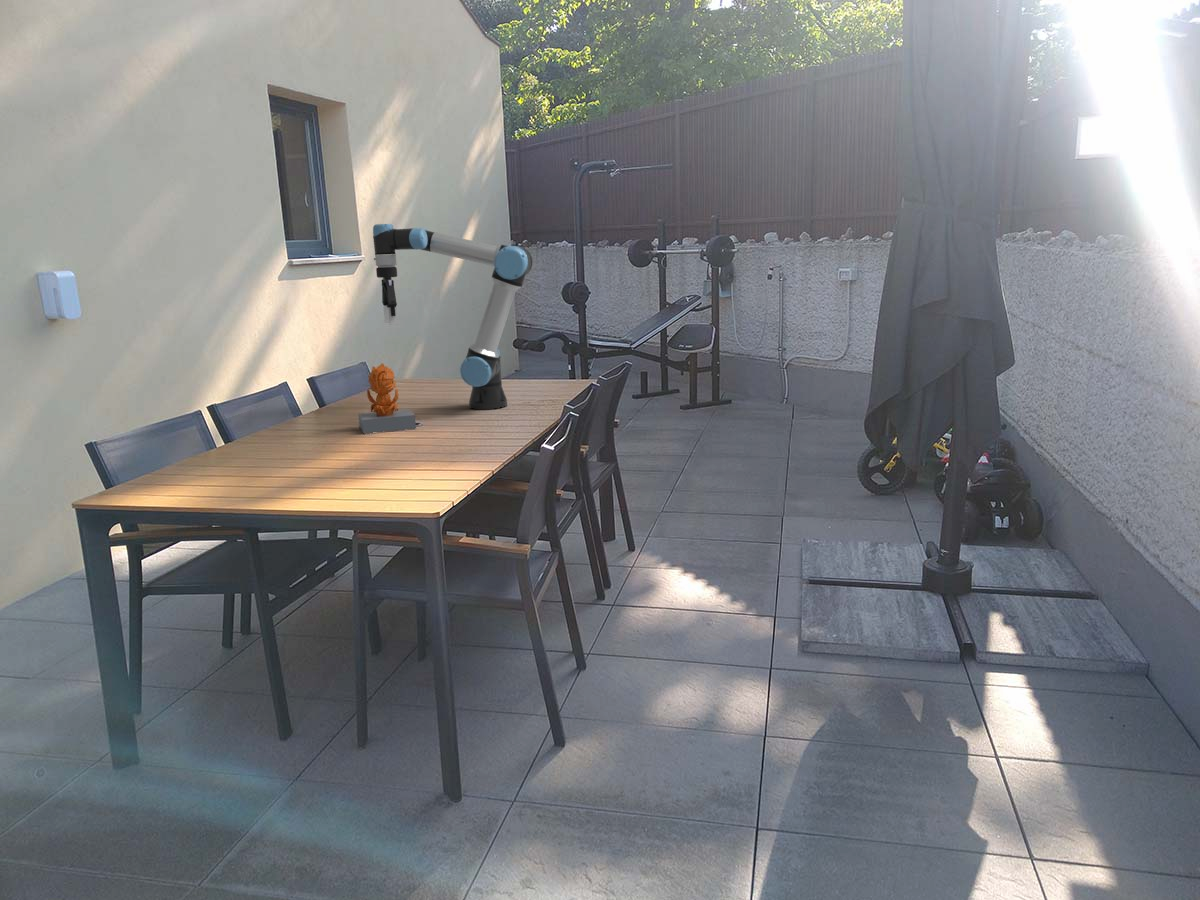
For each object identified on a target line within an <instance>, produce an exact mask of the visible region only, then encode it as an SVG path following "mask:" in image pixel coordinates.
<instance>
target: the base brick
mask: <svg viewBox="0 0 1200 900" xmlns="http://www.w3.org/2000/svg"><path fill="white" fill-rule="evenodd" d="M357 417H358V427H360V428H361V429H360V428H359V429H360V431H361V430H362V431H361V432H362V433H364V434H363V435H366V434H365V433H371V434H374V433H373V432H381V433H384V432H383V431H391V432H396V431H395V430H401V431H406V430H405V429H411V430H416V429H417V427H416V426H417V424H416V415H415V413H414V412H412V410H410V409H409V408H405V409H398V411H395V409H394V413H393V415H389V416H377V415H376V412H375V413H374V412H371V411H370V412H363V413H362V412H361V413H357ZM415 428H416V429H415Z"/></svg>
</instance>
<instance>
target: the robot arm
mask: <svg viewBox="0 0 1200 900" xmlns="http://www.w3.org/2000/svg"><path fill="white" fill-rule="evenodd" d="M372 239H373V240H372V241H373V247H374V248H373V249H374V255H375V257H374V258H373V261H375V266H376V269H375V271H376V272H375V273H376V278H378V279H379V278H382V279H381V295H382V297H381V299H382V300H381V303H382V305H383V316H384V323H385V324H389V326H398V313H397V306H398V303H397V299H396V292H395V281H394V280H393V279H392V278H396V277H398V268H397V267H396V266H397V265H398V264H397V254H396V251H397V250H398V251H401V250H421V251H426V252H431V253H435V254H439V255H443V256H448V257H451V258H457V259H462V260H465V261H469V262H473V263H479V264H482V265H483V264H484V265H487V266H491V267H494V268H493V271H492V275H491V280H492V281H493V284H492V285H493V286H492V288H491V292H490V294H489V297H488V300H487V304H486V307H485V310H484V313H483V317H482V320H481V323H480V326H479V329H478V332H477V335H476V339H475V342H474V344H470V345H469V348H468V351H467V353H466V356H465V359H464V360H463V361H462V363H461V365H460V368H459V371H460V372H459V373H460V376H461V378H462V380H463V382H464V383H466V384H467V385H468V386H471V387H472V389H471V392H470V395H469V399H468V400H469V401H468V407H470V408H469V409H471V408H474V409H473V410H495V409H494V408H497V409H501V408H500V407H502V408H505V407H504V406H506V405H507V406H508V400H507V396H506V394H505V391H504V389H503V386H502V385H503V384H502V383H503V381H502V366H501V365H502V364H501V363H502V362H501V357H502V356H501V352H500V350H499V349H498V347H499V344H500V341H501V338H502V336H503V331H504V329H505V326H506V323H507V319H508V316H509V314H510V310H511V307H512V305H513V301H514V298H515V294H516V293H517V291H518V290H519V289H521V288H522V287H523V283H524V280H525V278H526V276H527V274H529V273H530V271H531V270H532V267H533V262H534V261H533V257H532V255H531V253H530V252H529V250H528V249H527V248H525V247H523V246H519V245H504V244H499V245H498V246H497V245H493V244H489V243H484V242H479V241H475V240H469V239H467V238H466V239H465V238H461V237H459V236H458V237H457V236H452V235H448V234H443V233H439V232H434V231H430V230H427V229H424V228H421V227H419V228H418V227H414V228H394V225H393V224H392V223H377V224H374V225H373V227H372ZM507 406H506V407H507Z"/></svg>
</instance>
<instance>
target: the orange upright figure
mask: <svg viewBox="0 0 1200 900" xmlns="http://www.w3.org/2000/svg"><path fill="white" fill-rule="evenodd" d="M367 378H368V379H367V382H368V384H369V387H370V388H369V389H367V390H366V395H367V399H368V402H370V403H371V405H370V413H371V412H374V413H375V412H376V415H377V416H389V415H393V413H394V410H395V411H398V410H399V407H398V403H396V402H397V401H398V400H399V393H398V391H399V390H398V389H397V388H396V381H395V380H394V379H395V373H394V371H393V369H392V368H389V367H388V366H386V365H385V364H384V363H380V365H378V366H377V367H376V366H374V365H373V366H372V369H371V372H370V373H369V375H367ZM395 388H396V389H395ZM394 389H395V391H394V392H395V393H394V397H393V399H391V395H390V393H391V392H392V391H393V390H394ZM370 390H371V391H372V392H374V393H375V394H377V395H376V399H374V398H373V396H372V395H371V392H370Z"/></svg>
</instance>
